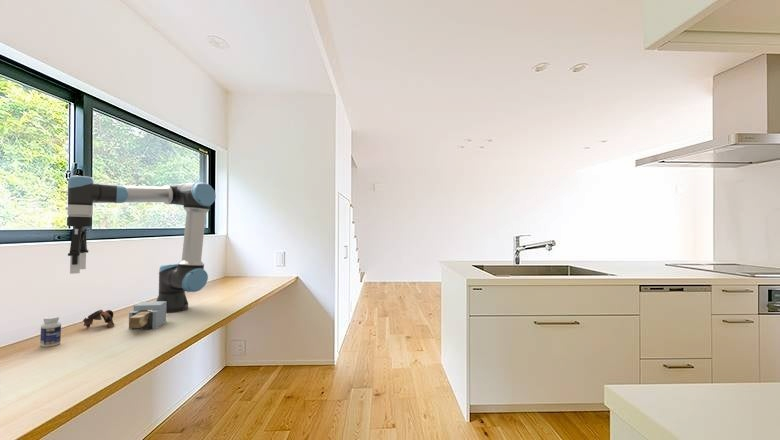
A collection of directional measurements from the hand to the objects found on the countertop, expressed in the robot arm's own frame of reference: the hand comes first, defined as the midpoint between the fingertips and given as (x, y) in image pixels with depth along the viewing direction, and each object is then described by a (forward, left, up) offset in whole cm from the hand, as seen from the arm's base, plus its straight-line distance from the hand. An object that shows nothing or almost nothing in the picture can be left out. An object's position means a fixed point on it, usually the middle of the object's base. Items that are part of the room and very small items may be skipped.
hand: (78, 271), depth 144 cm
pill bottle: (+8, +6, -25) cm, 27 cm away
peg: (-19, +8, -22) cm, 31 cm away
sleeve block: (-24, +2, -25) cm, 35 cm away
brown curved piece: (-10, -9, -25) cm, 29 cm away
